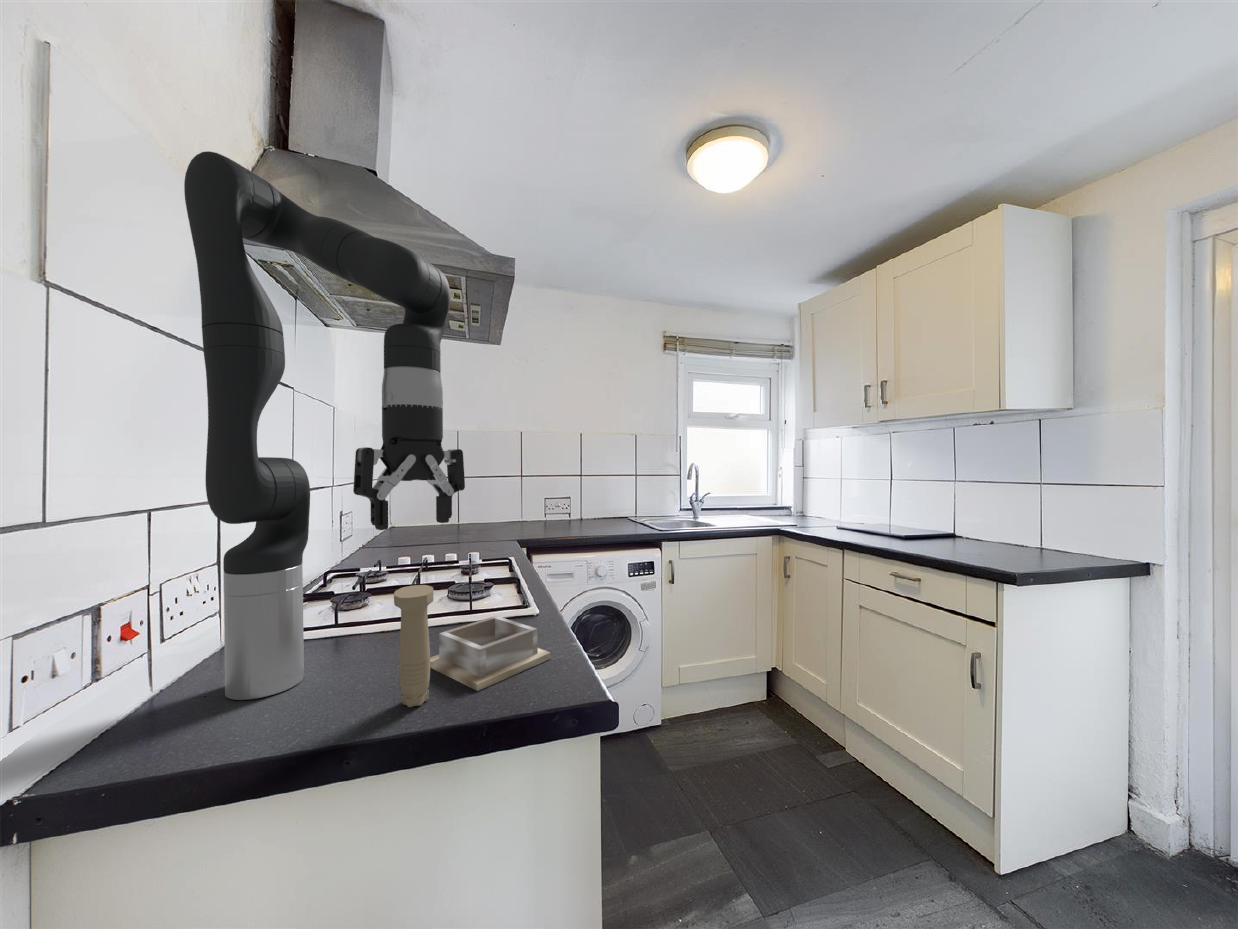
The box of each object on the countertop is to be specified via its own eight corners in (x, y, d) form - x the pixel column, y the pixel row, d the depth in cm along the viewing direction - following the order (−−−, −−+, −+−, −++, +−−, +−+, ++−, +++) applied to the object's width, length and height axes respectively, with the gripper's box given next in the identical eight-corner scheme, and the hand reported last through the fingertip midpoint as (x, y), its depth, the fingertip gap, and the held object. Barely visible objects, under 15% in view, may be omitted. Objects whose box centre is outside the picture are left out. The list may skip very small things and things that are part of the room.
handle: (434, 688, 68) (433, 583, 68) (434, 710, 62) (433, 595, 62) (397, 695, 66) (395, 587, 66) (393, 717, 60) (392, 599, 60)
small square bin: (425, 665, 76) (425, 634, 76) (498, 639, 87) (497, 612, 87) (477, 691, 67) (477, 655, 67) (550, 658, 78) (550, 628, 78)
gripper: (445, 411, 72) (446, 518, 72) (344, 402, 61) (344, 529, 61) (475, 408, 67) (475, 522, 67) (370, 397, 56) (371, 535, 56)
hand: (413, 525), depth 64 cm, fingers open, 8 cm apart
